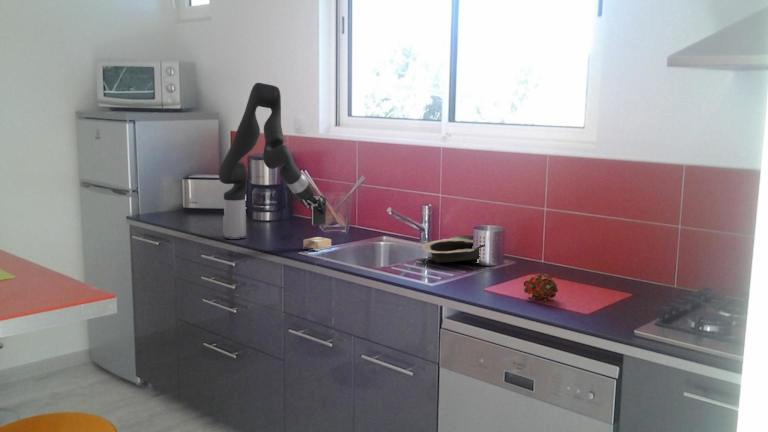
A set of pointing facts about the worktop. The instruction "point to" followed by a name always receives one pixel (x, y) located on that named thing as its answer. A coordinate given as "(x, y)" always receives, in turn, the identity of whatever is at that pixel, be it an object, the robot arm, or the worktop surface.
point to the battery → (317, 214)
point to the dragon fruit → (541, 287)
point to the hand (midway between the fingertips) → (320, 212)
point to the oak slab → (317, 243)
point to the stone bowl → (453, 249)
